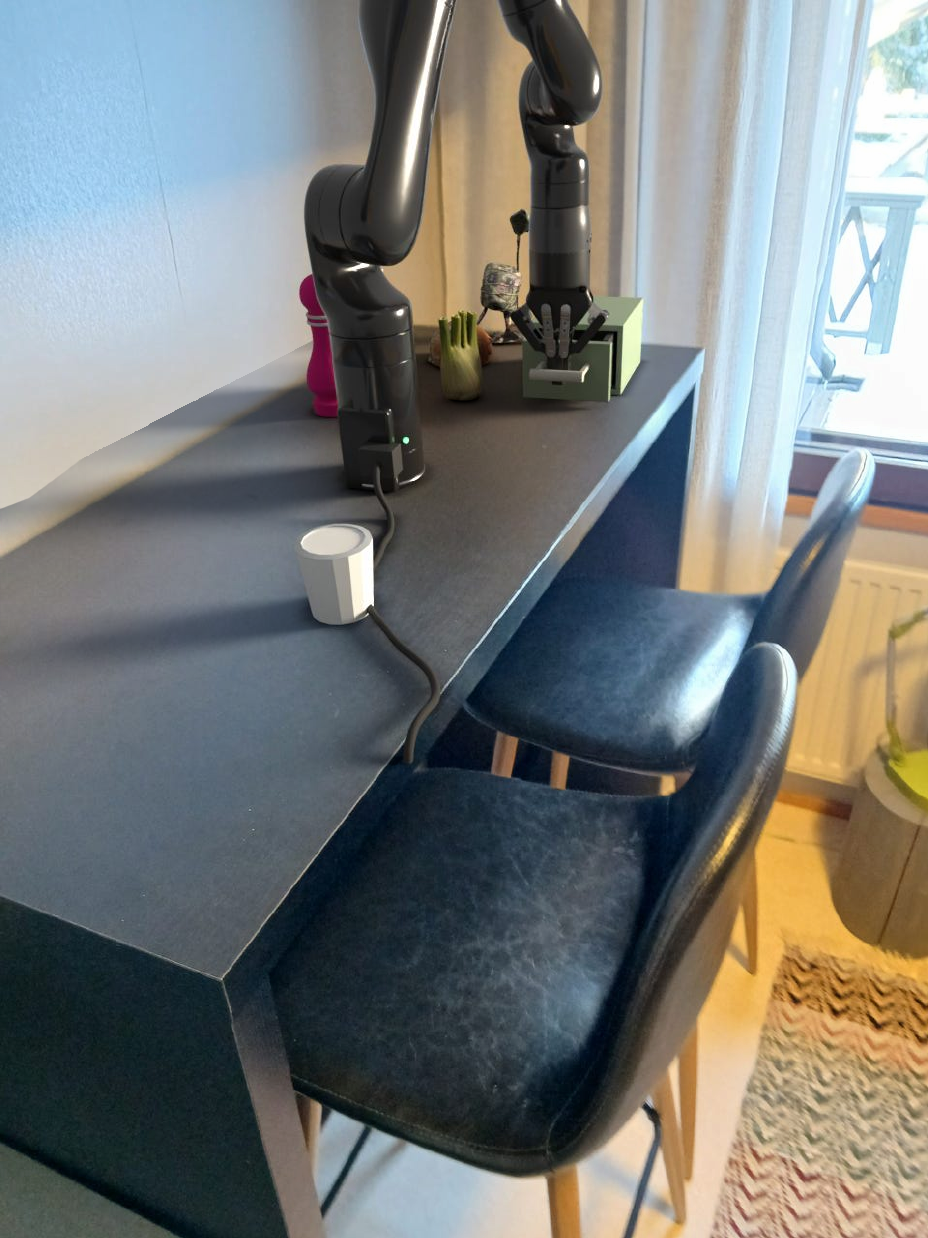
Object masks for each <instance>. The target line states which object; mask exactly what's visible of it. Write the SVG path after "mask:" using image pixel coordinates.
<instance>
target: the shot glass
mask: <svg viewBox="0 0 928 1238" xmlns="http://www.w3.org/2000/svg"><path fill="white" fill-rule="evenodd" d="M293 547H294V550H295V554H296V559H297V561H298V566H299V569H300V572H301V576H302V581H303V584H304V588H305V591H306V595H307V598H308V603H309V607H310V610H311V613H312V616H313V618H314V619H315V620H317V621H318V622H320V623H323V624H327V625H335V626H336V625H339V626H340V625H341V626H342V625H347V624H352V623H356V622H359V621H360V620H362V619H366V617H367V616H368V615H369V613H368V612H367V608H368V606H369V605H370V604H372V605H373V607H374V606H375V603H374V602H375V601H374V600H375V599H374V572H373V557H374V539H373V536H372V533H371V531H370V530H368V529H367V528H365V527H363V526H361V525H356V524H350V523H331V524H326V525H325V524H324V525H320V526H317V527H314V528H311V529H309V530H307V531H305V532H304V533H302V534H300V535H299V536H297V538H296V539H295V541H294V544H293Z"/></svg>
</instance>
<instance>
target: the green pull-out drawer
mask: <svg viewBox="0 0 928 1238" xmlns="http://www.w3.org/2000/svg"><path fill="white" fill-rule="evenodd" d="M539 331H540V332H541V334H542V335H543V336H544V332H543V328H541V329H540V330H539ZM585 331H586V330H575V331H574V335H573V342H574V341H577V340H578V339H579V338H580V337H581V336H582V334H583V333H584V332H585ZM617 332H618V331H597V332H596V334H595V335H594V336H593V337H592V339H591V340H590V341H589V342H588V344H587V345H586V346H585V347H584V348H583V350H582V351H581V352H580V353H578V354H577V353H574V354H572V355H571V371H566V370H547V356H546V354H544V353H542V352H540V351H538V352H537V351H535V350H534V349H533V348H532V347H531V345H530V344H529V343H528V341H527V340H526V339H525V338H524V339H521V347H522V348H521V350H522V351H521V353H522V357H521V358H522V397H523V398H532V399H548V400H549V399H550V400H565V401H566V400H567V401H578V402H579V401H581V402H597V403H609V402H610V401H611V395H610V388H611V386H612V385H613V383H614V381H615V380H616V357H617ZM559 334H560V329H559ZM559 345H560V339H559ZM552 381H562V382H565V383H564V385H552Z"/></svg>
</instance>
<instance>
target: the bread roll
mask: <svg viewBox="0 0 928 1238" xmlns="http://www.w3.org/2000/svg"><path fill="white" fill-rule="evenodd" d="M448 327H449V335H450V342H451V320H450V321H448ZM493 343H494V342H493V339H492V336H490V335H489V334H488V333H487V332H486V331H485V330H484V328H482V327H481V326H480V325H477V345H478V350H479V354H480V359H481V366H484V365H486V364H488V363H490V362H491V360H492V357H493V354H494V348H493ZM429 351H430V354H429V358H428V362H429V363H431V364H433V365H434V366H436V367H439V368H441V343H440V331H439V328H438V329H437V330H436V331H435V332H434V333H433V336H432V338H431V339H430V347H429Z"/></svg>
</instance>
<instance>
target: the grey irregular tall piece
mask: <svg viewBox="0 0 928 1238" xmlns="http://www.w3.org/2000/svg"><path fill="white" fill-rule="evenodd" d="M529 218H530V214H529V212H528V211H527V210H526V209H525V208H520V210H518V211H517V212H514V213H513V214H512V215H511V216H510V217H509V222H510V226H511V229H512V230H513V233H514V234H515V235H516V245H517V246H516V247H517V248H516V266H512V265H507V264H503V263H500V262H498V261H497V262H495V261H493V262H490V261H489V260H486V261H485V262H486V263H487V264H486V265H485V267H484V271H483V276H482V277H483V278H482V279H481V280H482V281H481V282H482V284H481V287H480V297H479V300H480V305H481V306H482V307H483V310H482V312H481V313H480V315H479V317H478V319H477V325H478V326H480V324H481V322H483V319H484V318H485V316H486V314H487V313H488V310H491V311H495V312H500V313H502V316H503V319H504V324H505V325H504V326H505V330H503V329H502V330H497V331H493V332H492V333H491V338H492V339H493V343H494V344H498V343H500V344H506V343H513V342H517V341H520V340H523V339H524V338H525V337H524V336H523V335H522V333H521V332H520V331H519V329H518V328H517V327H516V325H515V324H514V323H513V322H512V320H511V318H510V315H511V313H512V312H513V311H514V310H515V309H516V308H518V307H519V294H520V289H521V286H522V280H523V279H522V278H523V276H522V273H521V270H520V249H521V236H522V235H524V234H525V233H529ZM489 262H490V263H489Z"/></svg>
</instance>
